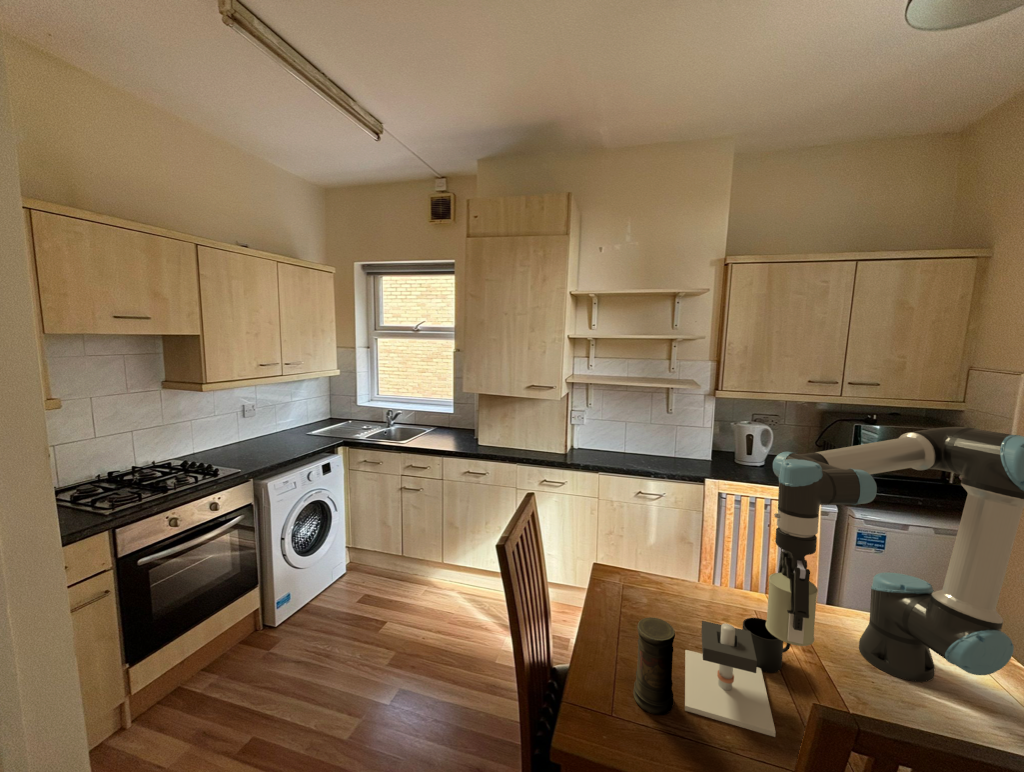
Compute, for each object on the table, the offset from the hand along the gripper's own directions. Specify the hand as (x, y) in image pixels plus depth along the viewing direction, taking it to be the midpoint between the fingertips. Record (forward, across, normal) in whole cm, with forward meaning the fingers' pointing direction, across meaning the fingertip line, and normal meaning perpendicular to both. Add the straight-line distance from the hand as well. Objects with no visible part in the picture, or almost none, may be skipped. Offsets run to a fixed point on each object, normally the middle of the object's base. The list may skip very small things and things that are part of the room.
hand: (789, 627), depth 97 cm
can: (+1, 0, 0) cm, 1 cm away
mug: (+21, -18, 0) cm, 27 cm away
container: (+21, +7, -28) cm, 36 cm away
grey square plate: (+10, -2, -12) cm, 16 cm away
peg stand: (+21, -2, -12) cm, 24 cm away
